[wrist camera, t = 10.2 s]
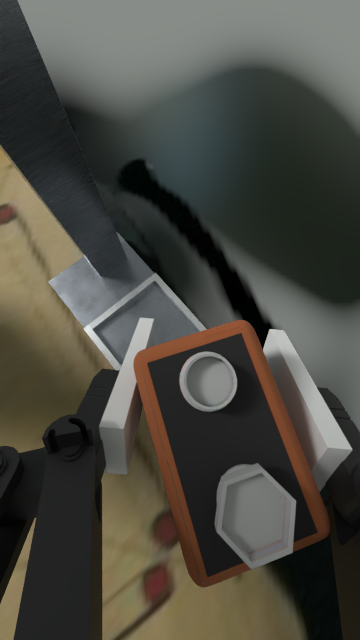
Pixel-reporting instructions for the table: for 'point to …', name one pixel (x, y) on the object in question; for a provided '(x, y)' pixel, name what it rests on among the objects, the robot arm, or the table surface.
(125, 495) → the table surface
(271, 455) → the battery
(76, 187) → the arbor press
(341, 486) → the robot arm
